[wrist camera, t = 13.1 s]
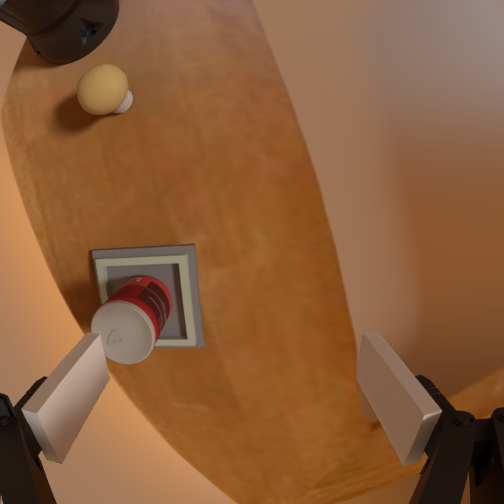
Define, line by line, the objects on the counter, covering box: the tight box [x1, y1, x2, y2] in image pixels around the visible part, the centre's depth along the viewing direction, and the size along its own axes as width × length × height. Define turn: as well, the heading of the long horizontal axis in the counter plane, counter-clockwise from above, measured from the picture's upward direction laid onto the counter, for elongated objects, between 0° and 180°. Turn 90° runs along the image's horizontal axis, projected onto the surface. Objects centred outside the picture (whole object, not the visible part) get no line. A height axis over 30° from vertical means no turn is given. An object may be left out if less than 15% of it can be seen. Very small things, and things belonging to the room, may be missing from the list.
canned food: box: [91, 276, 172, 364], centre depth 38 cm, size 8×8×11 cm
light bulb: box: [77, 64, 133, 115], centre depth 33 cm, size 6×6×10 cm
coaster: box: [92, 244, 205, 348], centre depth 43 cm, size 15×15×2 cm
